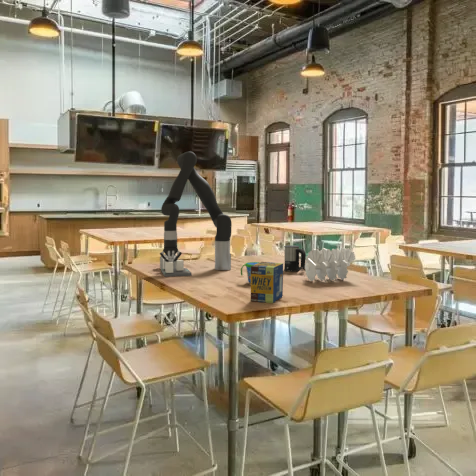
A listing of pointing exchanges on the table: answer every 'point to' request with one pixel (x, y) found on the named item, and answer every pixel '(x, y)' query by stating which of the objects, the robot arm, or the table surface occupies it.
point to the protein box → (266, 282)
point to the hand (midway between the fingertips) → (170, 268)
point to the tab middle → (179, 265)
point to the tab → (169, 267)
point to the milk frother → (294, 258)
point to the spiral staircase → (328, 263)
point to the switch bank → (177, 273)
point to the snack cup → (249, 269)
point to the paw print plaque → (166, 258)
